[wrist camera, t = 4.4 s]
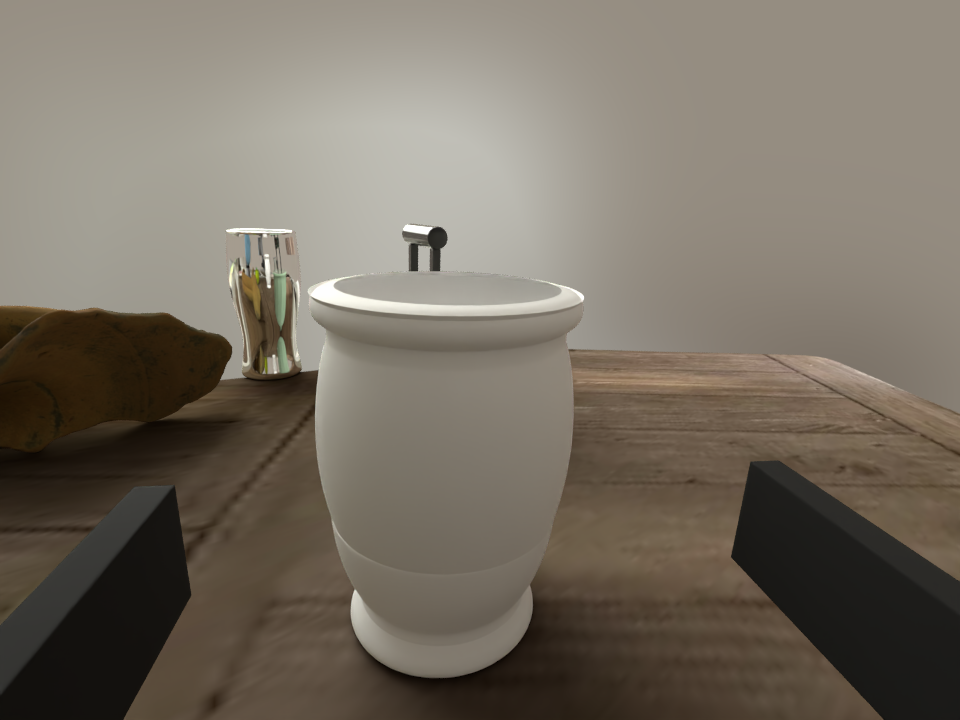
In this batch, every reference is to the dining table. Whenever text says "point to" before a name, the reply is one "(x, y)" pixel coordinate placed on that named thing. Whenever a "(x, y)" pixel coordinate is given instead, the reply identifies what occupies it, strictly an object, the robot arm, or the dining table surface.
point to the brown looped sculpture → (97, 370)
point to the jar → (443, 455)
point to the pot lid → (424, 243)
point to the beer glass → (265, 299)
